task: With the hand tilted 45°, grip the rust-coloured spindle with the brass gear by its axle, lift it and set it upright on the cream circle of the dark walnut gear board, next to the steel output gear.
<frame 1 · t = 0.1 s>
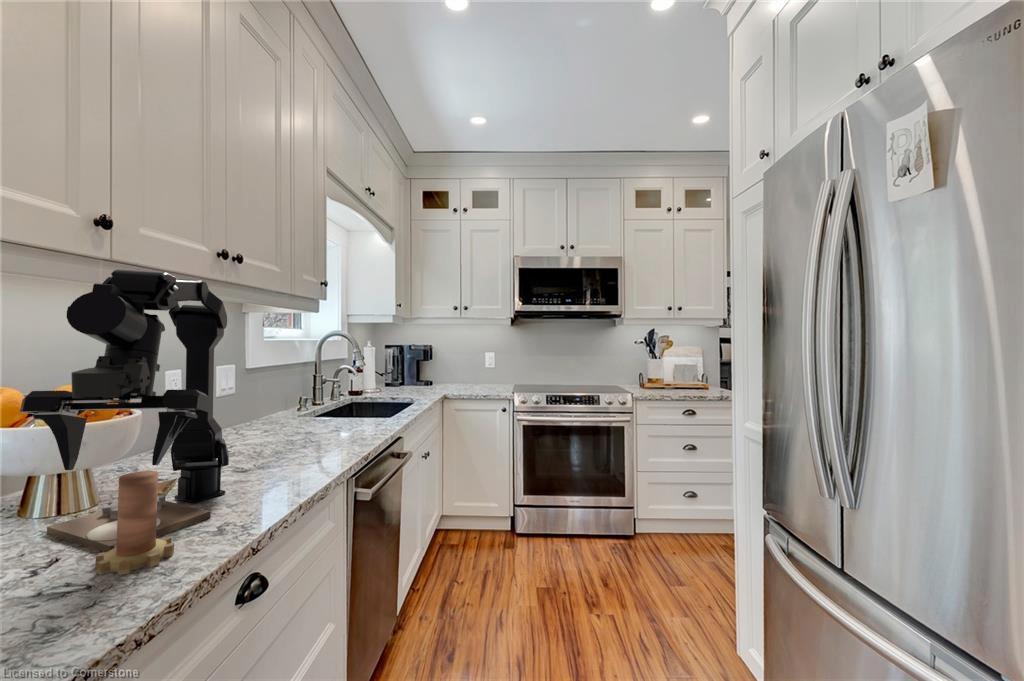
hand: (113, 467, 57), 15 cm above the countertop, tool pointing down, fingers open, 9 cm apart
gear spindle: (136, 559, 63), on the countertop
shard: (147, 496, 91), on the countertop
gear board: (132, 525, 75), on the countertop
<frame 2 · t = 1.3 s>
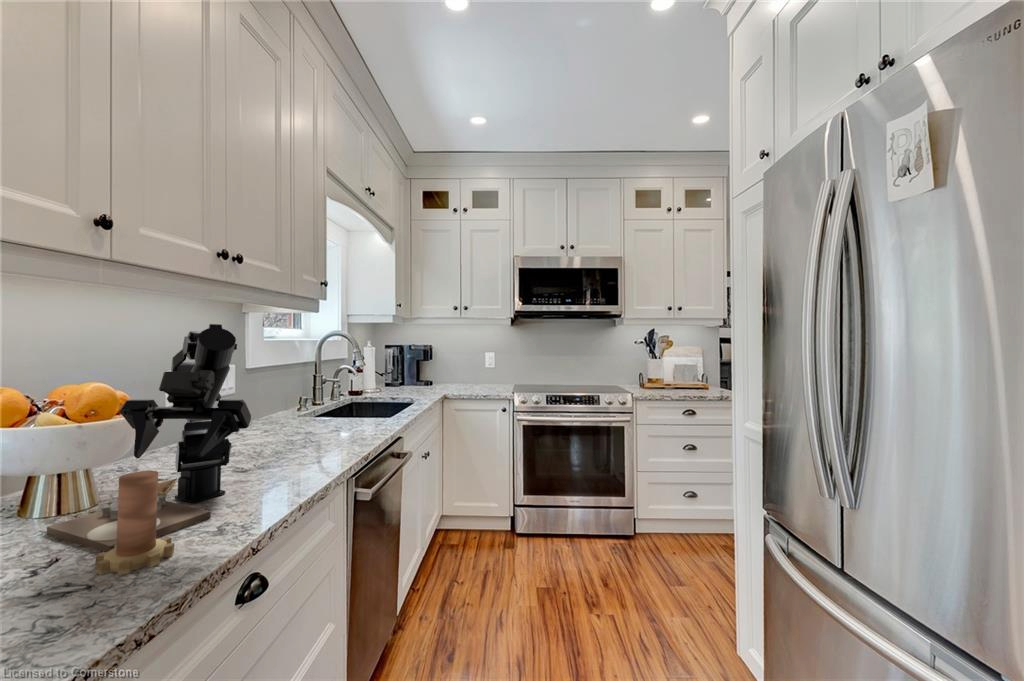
hand: (168, 456, 71), 13 cm above the countertop, tool tilted 45°, fingers open, 9 cm apart
nothing on the countertop moved.
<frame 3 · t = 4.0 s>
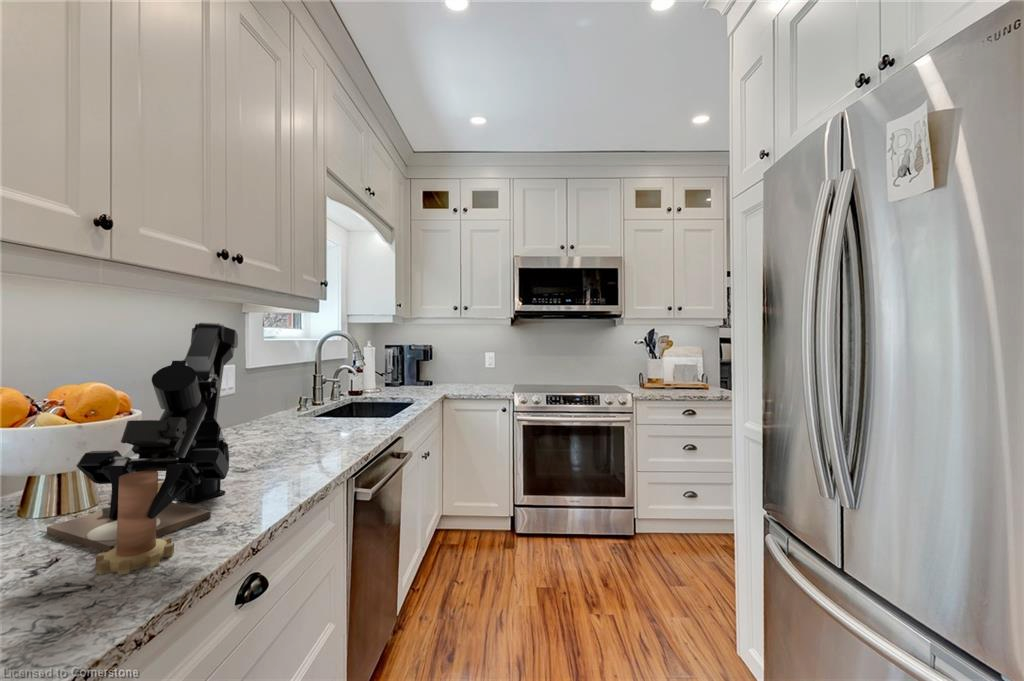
hand: (131, 518, 62), 7 cm above the countertop, tool tilted 45°, fingers closed on gear spindle, 4 cm apart
gear spindle: (136, 559, 63), on the countertop, touching gripper
everything else where it was.
when the fingers open (9 cm above the countertop, at t = 7.5 s): gear spindle drops 1 cm, resting on gear board.
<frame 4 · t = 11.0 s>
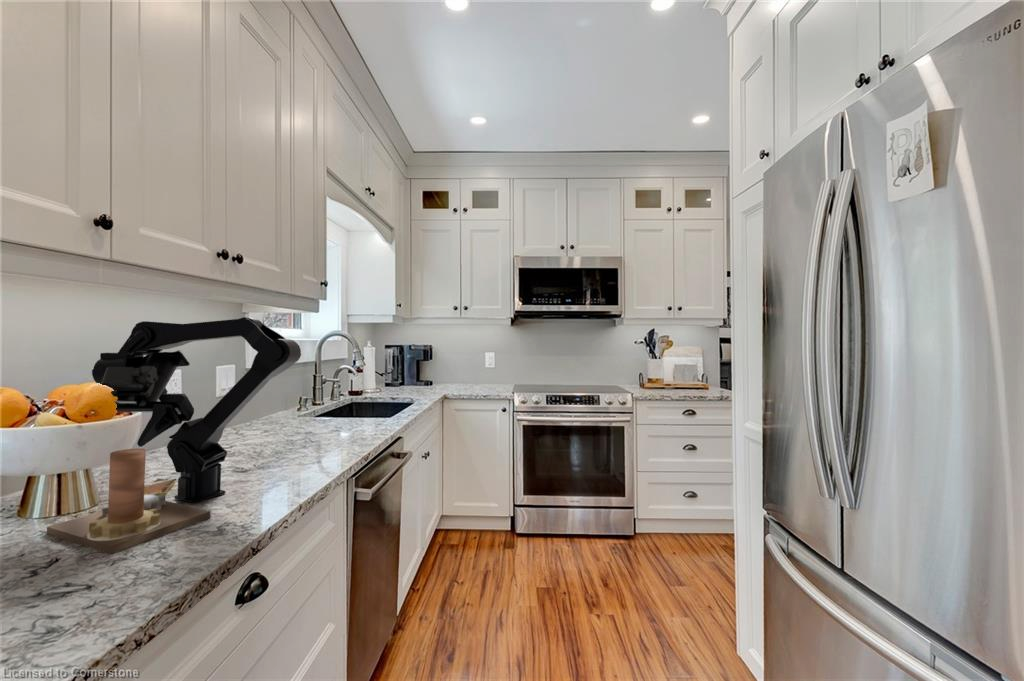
hand: (109, 446, 76), 14 cm above the countertop, tool tilted 45°, fingers open, 9 cm apart
gear spindle: (125, 527, 71), point 1 cm above the countertop, touching gear board
everything else where it was.
at the end: gear spindle 0.1 cm from the target spot on the gear board, point 1.4 cm above the gear board's base; gear spindle tilted 0°; the gripper is holding nothing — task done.
